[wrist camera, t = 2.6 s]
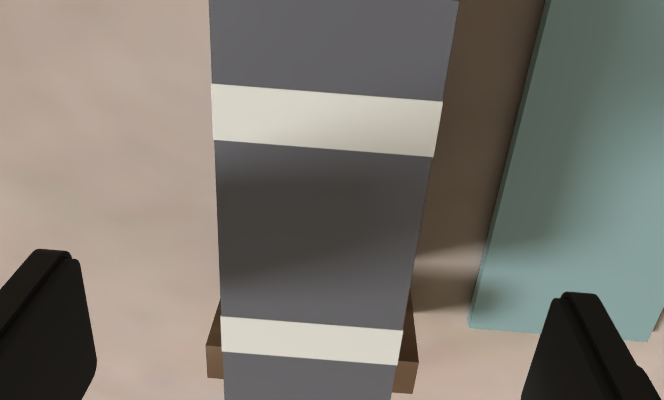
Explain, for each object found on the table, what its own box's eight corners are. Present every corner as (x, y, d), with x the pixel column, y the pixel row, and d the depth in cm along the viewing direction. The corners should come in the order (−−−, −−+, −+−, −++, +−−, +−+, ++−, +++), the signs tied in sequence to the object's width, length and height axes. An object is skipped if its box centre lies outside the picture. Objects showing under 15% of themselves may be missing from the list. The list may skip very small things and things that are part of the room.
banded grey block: (263, -66, 16) (206, -19, 10) (423, -53, 16) (460, 1, 10) (261, 251, 22) (223, 401, 16) (380, 261, 22) (388, 414, 16)
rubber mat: (580, -145, 15) (587, -145, 15) (850, -124, 15) (864, -124, 15) (466, 319, 23) (469, 327, 23) (641, 332, 23) (647, 341, 23)
